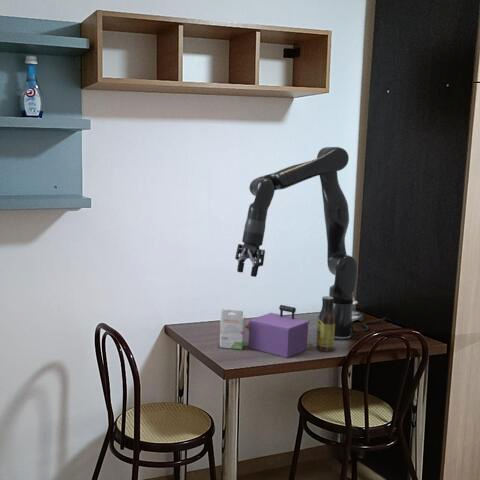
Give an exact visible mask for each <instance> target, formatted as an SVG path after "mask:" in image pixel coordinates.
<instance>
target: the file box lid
mask: <svg viewBox="0 0 480 480" xmlns="http://www.w3.org/2000/svg"><path fill="white" fill-rule="evenodd" d="M278 309H279V311H280V312H279V313H274V312H269V313H266V314H263V315H260V316H257V317H253V318H249V322H253V323H257V324H262V325H266V326H270V327H275V328H279V329H283V330H288V331H289V330H292V329H294V328H297V327H300V326H303V325H305V324H308V325H309V324H310V322H311V321H310V320H307V319H302V318H297V317H295V313H296V311H297V309H296V307H294V306H290V305H283V304H280V305H279V306H278ZM284 312H287V313H291V316H289V315H284ZM249 322H248V323H249Z"/></svg>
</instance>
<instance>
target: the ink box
mask: <svg viewBox="0 0 480 480" xmlns="http://www.w3.org/2000/svg"><path fill="white" fill-rule="evenodd" d="M220 313H221V314H220V323H219V325H220V326H219V327H220V328H219V348H222V349H232V350H243V349H244V347H245V324H246V323H245V318H246V317H245V315H244V311H243V310H241V309H240V310H238V309H229V308H228V309H227V308H225V309H224V308H222V309H221V310H220ZM230 313H233V314H230Z"/></svg>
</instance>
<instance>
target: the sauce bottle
mask: <svg viewBox="0 0 480 480" xmlns="http://www.w3.org/2000/svg"><path fill="white" fill-rule="evenodd" d="M333 301H334V298H333V297H329V295H328V296H327V295H324V296H322V298H321V303H322V305H321V310H320V312H319V314H318V316H317V329H316V348H317V349H318V351H325V352H331V351H333V350H334V345H335V339H334V334H335V314H334V312H333V310H332V309H333Z"/></svg>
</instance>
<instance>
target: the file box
mask: <svg viewBox="0 0 480 480" xmlns="http://www.w3.org/2000/svg"><path fill="white" fill-rule="evenodd" d="M248 324H249V328H248V342H247V343H248V345H247V346H248V348H250V349H252V350H256V351H261V352H265V353H268V354H272V355H275V356H279V357H283V358H290V357H292V356H294V355H297V354H299V353H301V352H304V351H307V350H308V337H309V336H308V334H309V323H308V324H305V325H303V326H300V327H297V328H294V329H292V330H289V331H288V330H283V329H279V328H275V327H270V326H266V325H262V324H257V323H253V322H248Z"/></svg>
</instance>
